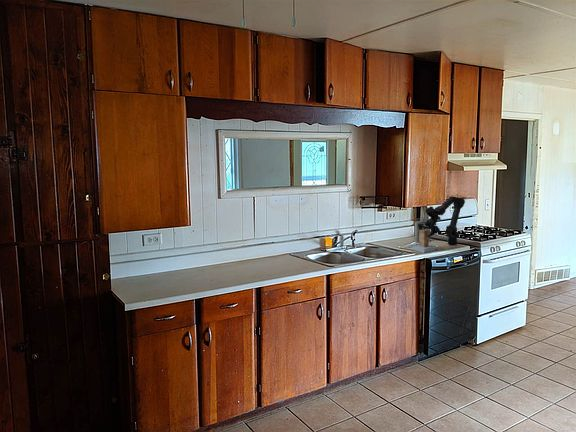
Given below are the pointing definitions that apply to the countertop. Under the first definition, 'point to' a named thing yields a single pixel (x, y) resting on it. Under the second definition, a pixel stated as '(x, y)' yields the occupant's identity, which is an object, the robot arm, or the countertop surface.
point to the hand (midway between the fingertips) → (423, 236)
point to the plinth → (424, 248)
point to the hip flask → (418, 230)
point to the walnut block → (423, 238)
